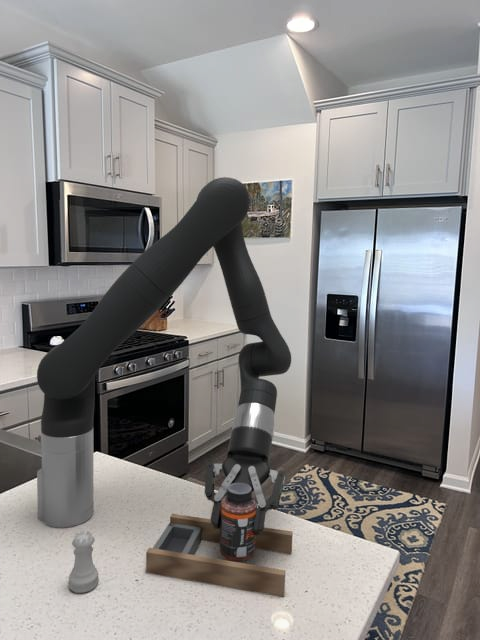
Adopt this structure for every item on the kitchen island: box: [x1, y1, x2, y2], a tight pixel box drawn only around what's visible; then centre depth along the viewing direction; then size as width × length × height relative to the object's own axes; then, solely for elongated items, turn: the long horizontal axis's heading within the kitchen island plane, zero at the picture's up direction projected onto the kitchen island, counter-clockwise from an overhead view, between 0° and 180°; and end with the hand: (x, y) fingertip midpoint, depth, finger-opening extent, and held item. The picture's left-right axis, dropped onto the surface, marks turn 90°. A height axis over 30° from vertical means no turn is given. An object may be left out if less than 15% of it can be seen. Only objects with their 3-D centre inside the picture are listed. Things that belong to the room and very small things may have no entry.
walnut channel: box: [145, 513, 294, 598], centre depth 79 cm, size 22×12×4 cm, turn 78°
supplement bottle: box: [218, 483, 258, 563], centre depth 78 cm, size 6×6×11 cm
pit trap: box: [152, 522, 202, 555], centre depth 81 cm, size 6×9×2 cm, turn 168°
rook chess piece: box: [67, 530, 100, 594], centre depth 72 cm, size 4×4×8 cm
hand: (236, 530), depth 77 cm, fingers closed on supplement bottle, 6 cm apart
